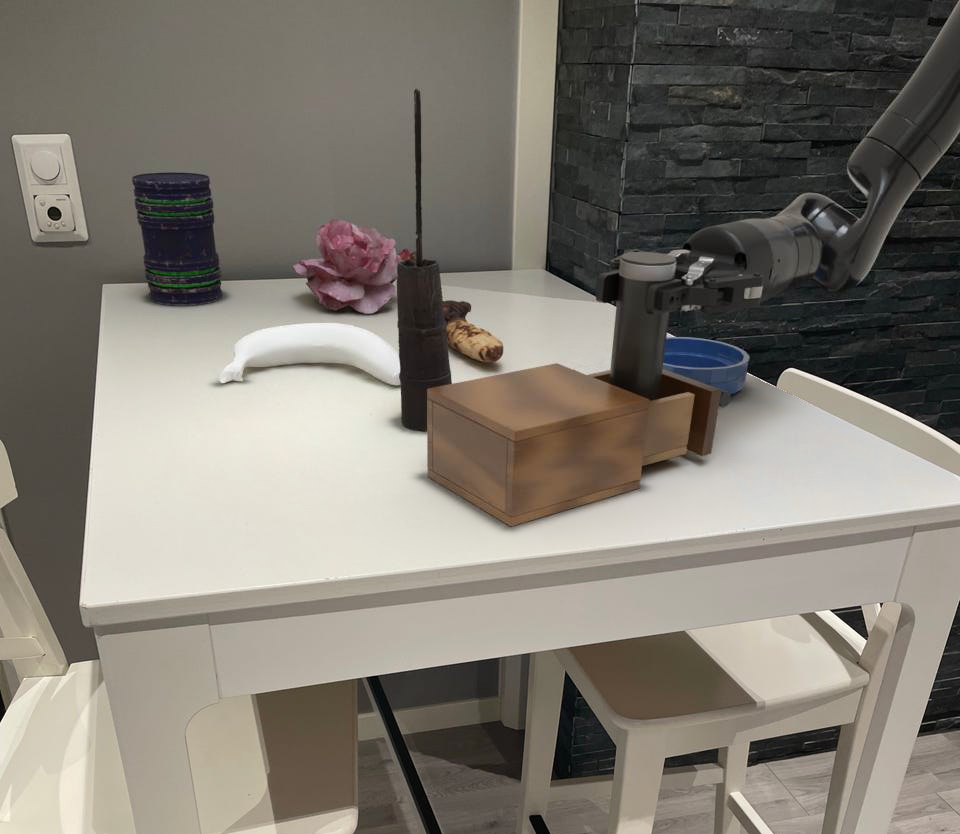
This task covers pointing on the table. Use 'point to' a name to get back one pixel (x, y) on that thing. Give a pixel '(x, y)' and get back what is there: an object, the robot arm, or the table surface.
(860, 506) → the table surface
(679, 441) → the drawer
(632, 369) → the pepper mill
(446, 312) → the tan mottled elongated piece
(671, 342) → the bowl
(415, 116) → the butter churn
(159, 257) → the storage jar
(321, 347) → the banana
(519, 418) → the cabinet
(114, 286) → the table surface
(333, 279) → the flower
